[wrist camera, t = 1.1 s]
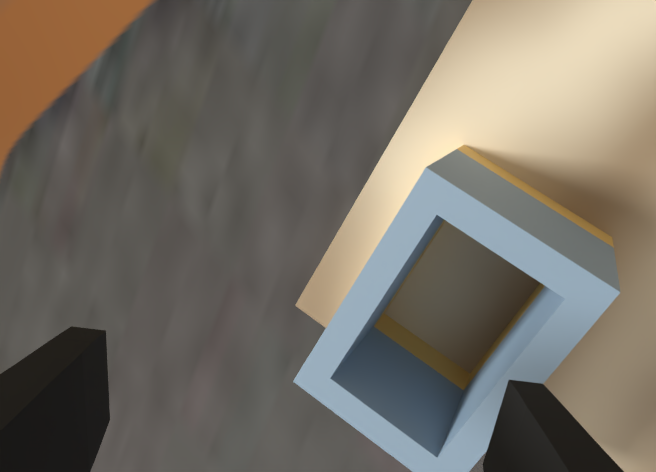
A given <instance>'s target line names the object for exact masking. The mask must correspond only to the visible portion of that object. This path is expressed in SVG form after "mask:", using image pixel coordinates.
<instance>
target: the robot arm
mask: <svg viewBox="0 0 656 472" xmlns="http://www.w3.org/2000/svg"><path fill="white" fill-rule="evenodd" d="M109 421H110V413H109V391H108V369H107V348H106V331H104V330H96V329H88V328H79V327H70V328H68V329H67V330H65V331H64V332H62V333H61V334H59V335H58V336H56V337H55V338H53V339H52V340H50V341H49V342H47V343H46V344H44V345H43V346H41V347H40V348H38V349H37V350H36V351H34V352H33V353H31V354H30V355H28V356H27V357H25V358H24V359H22V360H21V361H19V362H18V363H17V364H15V365H14V366H12V367H11V368H9V369H8V370H6V371H5V372H3V373H1V374H0V472H90V471H91V468H92V466H93V463H94V461H95V458H96V455H97V453H98V450H99V448H100V445H101V442H102V440H103V437H104V434H105V431H106V429H107V426H108V423H109ZM483 470H484V472H624V471H623V470H622V469H621V468H620V467H619V466H618V465H617V464H616V463H615V462H614V460H613V459H612V458H611V457H610V456H609V455H608V454H607V453H606V452H605V451H604V450H603V449H602V448H601V447H600V445H599V444H598V443H597V442H596V441H595V440H594V439H593V438H592V437H591V436H590V435H589V433H588V432H587V431H586V430H585V429H584V428H583V427H582V426H581V425H580V423H579V422H578V421H577V420H576V419H575V418H574V417H573V416H572V415H571V414H570V412H569V411H568V410H567V409H566V408H565V407H564V406H563V405H562V404H561V402H560V401H559V400H558V399H557V398H556V397H555V396H554V395H553V394H552V393H551V392H550V391H549V390H548V389H547V388H546V386H545V385H544V384H541V383H533V382H525V381H517V380H509V381H508V384H507V387H506V390H505V394H504V397H503V400H502V403H501V407H500V410H499V413H498V416H497V420H496V423H495V426H494V429H493V433H492V436H491V439H490V443H489V446H488V449H487V452H486V456H485V459H484V462H483Z"/></svg>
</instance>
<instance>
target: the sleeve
mask: <svg viewBox="0 0 656 472" xmlns="http://www.w3.org/2000/svg"><path fill="white" fill-rule="evenodd" d="M445 221H447V222H449V223H450V224H452V225H453V226H455V227H456V228H458V229H459V230H461V231H462V232H464V233H466V234H467V235H469V236H470V237H472V238H473V239H475V240H476V241H478V242H479V243H481V244H482V245H484V246H485V247H487V248H488V249H490V250H491V251H493V252H494V253H496V254H497V255H499V256H501V257H502V258H504V259H505V260H507V261H508V262H510V263H511V264H513V265H514V266H516V267H517V268H519V269H520V270H522V271H523V272H525V273H526V274H528V275H529V276H531V277H532V278H534V279H536V280H537V281H539V282H540V284H539V285H538V286H537V288H536V289H535V290H534V292H533V293H532V294H531V295H530V297H529V298H528V299H527V301H526V302H525V303H524V305H523V306H522V307H521V308H520V310H519V311H518V312H517V314H516V315H515V316H514V317H513V319H512V320H511V321H510V323H509V324H508V325H507V327H506V328H505V329H504V330H503V332H502V333H501V334H500V336H499V337H498V338H497V339H496V341H495V342H494V343H493V345H492V346H491V347H490V348H489V350H488V351H487V352H486V354H485V355H484V356H483V358H482V359H481V360H480V361H479V363H478V364H477V365H476V367H475V368H474V369H473V370H472V372H471V373H468V372H467V371H465V370H464V369H463V368H461V367H460V366H458V365H457V364H455V363H454V362H453V361H451V360H450V359H448V358H447V357H446V356H444V355H443V354H441V353H440V352H438V351H437V350H436V349H434V348H433V347H431V346H430V345H429V344H427V343H426V342H424V341H423V340H421V339H420V338H419V337H417V336H416V335H414V334H413V333H412V332H410V331H409V330H407V329H406V328H404V327H403V326H402V325H400V324H399V323H397V322H396V321H395V320H393V319H392V318H390V317H389V316H387V315H386V314H385V312H386V310H387V309H388V307H389V306H390V304H391V303H392V301H393V300H394V298H395V297H396V295H397V294H398V292H399V291H400V289H401V288H402V286H403V285H404V283H405V282H406V280H407V279H408V277H409V276H410V274H411V273H412V271H413V270H414V268H415V267H416V265H417V264H418V262H419V261H420V259H421V258H422V256H423V255H424V253H425V251H426V250H427V248H428V247H429V245H430V244H431V242H432V241H433V239H434V238H435V236H436V235H437V233H438V232H439V230H440V229H441V227H442V226H443V224H444V223H445ZM619 294H620V285H619V279H618V272H617V265H616V259H615V252H614V246H613V239H612V237H611V236H609V235H608V234H606V233H605V232H603V231H601V230H600V229H598V228H597V227H595V226H593V225H592V224H590V223H589V222H587V221H585V220H584V219H582V218H581V217H579V216H578V215H576V214H574V213H573V212H571V211H570V210H568V209H566V208H565V207H563V206H562V205H560V204H558V203H557V202H555V201H554V200H552V199H550V198H549V197H547V196H546V195H544V194H542V193H541V192H539V191H538V190H536V189H534V188H533V187H531V186H530V185H528V184H526V183H525V182H523V181H522V180H520V179H518V178H517V177H515V176H514V175H512V174H510V173H509V172H507V171H506V170H504V169H502V168H501V167H499V166H498V165H496V164H494V163H493V162H491V161H490V160H488V159H486V158H485V157H483V156H482V155H480V154H478V153H477V152H475V151H474V150H472V149H470V148H469V147H467V146H466V145H462V146H461V147H459V148H457V149H456V150H454V151H452V152H451V153H449V154H447V155H446V156H444V157H442V158H441V159H439V160H437V161H436V162H434V163H432V164H430V165H429V166H427V167H426V168H425V169H424V171H423V173H422V174H421V176H420V178H419V179H418V181H417V182H416V184H415V186H414V187H413V189H412V190H411V192H410V194H409V195H408V197H407V198H406V200H405V202H404V203H403V205H402V207H401V208H400V210H399V211H398V213H397V215H396V216H395V218H394V219H393V221H392V223H391V224H390V226H389V228H388V229H387V231H386V232H385V234H384V236H383V237H382V239H381V240H380V242H379V244H378V245H377V247H376V249H375V250H374V252H373V253H372V255H371V257H370V258H369V260H368V261H367V263H366V265H365V266H364V268H363V270H362V271H361V273H360V274H359V276H358V278H357V279H356V281H355V282H354V284H353V286H352V287H351V289H350V291H349V292H348V294H347V295H346V297H345V299H344V300H343V302H342V303H341V305H340V307H339V308H338V310H337V311H336V313H335V315H334V316H333V318H332V320H331V321H330V323H329V324H328V326H327V328H326V329H325V331H324V332H323V334H322V336H321V337H320V339H319V341H318V342H317V344H316V345H315V347H314V349H313V350H312V352H311V353H310V355H309V357H308V358H307V360H306V362H305V363H304V365H303V366H302V368H301V370H300V371H299V373H298V374H297V376H296V378H295V379H294V381H293V382H295V383H296V384H297V385H299V386H300V387H301V388H303V389H304V390H305V391H307V392H308V393H309V394H311V395H312V396H313V397H315V398H316V399H317V400H319V401H320V402H321V403H322V404H324V405H325V406H326V407H328V408H329V409H330V410H332V411H333V412H334V413H336V414H337V415H338V416H340V417H341V418H342V419H344V420H345V421H346V422H348V423H349V424H350V425H352V426H353V427H354V428H356V429H357V430H358V431H360V432H361V433H362V434H364V435H365V436H366V437H368V438H369V439H370V440H372V441H373V442H374V443H375V444H377V445H378V446H379V447H381V448H382V449H383V450H385V451H386V452H387V453H389V454H390V455H391V456H393V457H394V458H395V459H397V460H398V461H399V462H401V463H402V464H403V465H405V466H406V467H407V468H409V469H410V470H411V471H413V472H469V471H470V470H471V469H472V467H473V466H474V465H475V464H476V463H477V461H478V460H479V459H480V458H481V457H482V456H483V454H484V453H485V452H486V451H487V449H488V446H489V443H490V439H491V436H492V433H493V429H494V426H495V423H496V420H497V416H498V413H499V410H500V407H501V403H502V400H503V397H504V394H505V390H506V387H507V384H508V381H509V380H517V381H525V382H533V383H541V384H543V383H544V382H545V381H546V380H547V379H548V378H549V376H550V375H551V374H552V373H553V372H554V370H555V369H556V368H557V367H558V366H559V365H560V363H561V362H562V361H563V360H564V359H565V357H566V356H567V355H568V354H569V353H570V352H571V350H572V349H573V348H574V347H575V346H576V344H577V343H578V342H579V341H580V340H581V339H582V337H583V336H584V335H585V334H586V333H587V331H588V330H589V329H590V328H591V327H592V326H593V324H594V323H595V322H596V321H597V320H598V318H599V317H600V316H601V315H602V314H603V313H604V311H605V310H606V309H607V308H608V307H609V305H610V304H611V303H612V302H613V301H614V300H615V298H616V297H617V296H618V295H619Z"/></svg>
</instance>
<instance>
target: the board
mask: <svg viewBox="0 0 656 472" xmlns="http://www.w3.org/2000/svg"><path fill="white" fill-rule="evenodd" d="M462 145H466V146H467V147H469V148H470V149H472V150H474V151H475V152H477V153H478V154H480V155H482V156H483V157H485V158H486V159H488V160H490V161H491V162H493V163H494V164H496V165H498V166H499V167H501V168H502V169H504V170H506V171H507V172H509V173H510V174H512V175H514V176H515V177H517V178H518V179H520V180H522V181H523V182H525V183H526V184H528V185H530V186H531V187H533V188H534V189H536V190H538V191H539V192H541V193H542V194H544V195H546V196H547V197H549V198H550V199H552V200H554V201H555V202H557V203H558V204H560V205H562V206H563V207H565V208H566V209H568V210H570V211H571V212H573V213H574V214H576V215H578V216H579V217H581V218H582V219H584V220H585V221H587V222H589V223H590V224H592V225H593V226H595V227H597V228H598V229H600V230H601V231H603V232H605V233H606V234H608V235H609V236H611V237H612V239H613V246H614V252H615V259H616V265H617V272H618V279H619V285H620V294H619V295H618V296H617V297H616V298H615V300H614V301H613V302H612V303H611V304H610V305H609V307H608V308H607V309H606V310H605V311H604V313H603V314H602V315H601V316H600V317H599V318H598V320H597V321H596V322H595V323H594V324H593V326H592V327H591V328H590V329H589V330H588V331H587V333H586V334H585V335H584V336H583V337H582V339H581V340H580V341H579V342H578V343H577V344H576V346H575V347H574V348H573V349H572V350H571V352H570V353H569V354H568V355H567V356H566V357H565V359H564V360H563V361H562V362H561V363H560V365H559V366H558V367H557V368H556V369H555V370H554V372H553V373H552V374H551V375H550V376H549V378H548V379H547V380H546V381H545V382H544V383H543V384H544V385H545V386H546V388H547V389H548V390H549V391H550V392H551V393H552V394H553V395H554V396H555V397H556V398H557V399H558V400H559V401H560V402H561V404H562V405H563V406H564V407H565V408H566V409H567V410H568V411H569V412H570V414H571V415H572V416H573V417H574V418H575V419H576V420H577V421H578V422H579V423H580V425H581V426H582V427H583V428H584V429H585V430H586V431H587V432H588V433H589V435H590V436H591V437H592V438H593V439H594V440H595V441H596V442H597V443H598V444H599V445H600V447H601V448H602V449H603V450H604V451H605V452H606V453H607V454H608V455H609V456H610V457H611V458H612V459H613V460H614V462H615V463H616V464H617V465H618V466H619V467H620V468H621V469H622V470H623V471H624V472H656V0H473V1H472V2H471V4H470V6H469V8H468V9H467V11H466V13H465V14H464V16H463V18H462V20H461V21H460V23H459V25H458V26H457V28H456V30H455V32H454V33H453V35H452V37H451V38H450V40H449V42H448V44H447V45H446V47H445V49H444V51H443V52H442V54H441V56H440V57H439V59H438V61H437V63H436V64H435V66H434V68H433V69H432V71H431V73H430V75H429V76H428V78H427V80H426V81H425V83H424V85H423V87H422V88H421V90H420V92H419V93H418V95H417V97H416V99H415V100H414V102H413V104H412V106H411V107H410V109H409V111H408V112H407V114H406V116H405V118H404V119H403V121H402V123H401V124H400V126H399V128H398V130H397V131H396V133H395V135H394V136H393V138H392V140H391V142H390V143H389V145H388V147H387V149H386V150H385V152H384V154H383V155H382V157H381V159H380V161H379V162H378V164H377V166H376V167H375V169H374V171H373V173H372V174H371V176H370V178H369V179H368V181H367V183H366V185H365V186H364V188H363V190H362V192H361V193H360V195H359V197H358V198H357V200H356V202H355V204H354V205H353V207H352V209H351V210H350V212H349V214H348V216H347V217H346V219H345V221H344V222H343V224H342V226H341V228H340V229H339V231H338V233H337V234H336V236H335V238H334V240H333V241H332V243H331V245H330V247H329V248H328V250H327V252H326V253H325V255H324V257H323V259H322V260H321V262H320V264H319V265H318V267H317V269H316V271H315V272H314V274H313V276H312V277H311V279H310V281H309V283H308V284H307V286H306V288H305V290H304V291H303V293H302V295H301V296H300V298H299V300H298V302H297V303H296V305H295V306H297V307H298V308H299V309H301V310H302V311H303V312H305V313H306V314H308V315H309V316H310V317H312V318H313V319H315V320H316V321H317V322H319V323H320V324H321V325H323V326H324V327H326V328H327V326H328V324H329V323H330V321H331V320H332V318H333V316H334V315H335V313H336V311H337V310H338V308H339V307H340V305H341V303H342V302H343V300H344V299H345V297H346V295H347V294H348V292H349V291H350V289H351V287H352V286H353V284H354V282H355V281H356V279H357V278H358V276H359V274H360V273H361V271H362V270H363V268H364V266H365V265H366V263H367V261H368V260H369V258H370V257H371V255H372V253H373V252H374V250H375V249H376V247H377V245H378V244H379V242H380V240H381V239H382V237H383V236H384V234H385V232H386V231H387V229H388V228H389V226H390V224H391V223H392V221H393V219H394V218H395V216H396V215H397V213H398V211H399V210H400V208H401V207H402V205H403V203H404V202H405V200H406V198H407V197H408V195H409V194H410V192H411V190H412V189H413V187H414V186H415V184H416V182H417V181H418V179H419V178H420V176H421V174H422V173H423V171H424V169H425V168H426V167H427V166H429V165H430V164H432V163H434V162H436V161H437V160H439V159H441V158H442V157H444V156H446V155H447V154H449V153H451V152H452V151H454V150H456V149H457V148H459V147H461V146H462ZM539 284H540V282H539V281H537V280H536V279H534V278H532V277H531V276H529V275H528V274H526V273H525V272H523V271H522V270H520V269H519V268H517V267H516V266H514V265H513V264H511V263H510V262H508V261H507V260H505V259H504V258H502V257H501V256H499V255H497V254H496V253H494V252H493V251H491V250H490V249H488V248H487V247H485V246H484V245H482V244H481V243H479V242H478V241H476V240H475V239H473V238H472V237H470V236H469V235H467V234H466V233H464V232H462V231H461V230H459V229H458V228H456V227H455V226H453V225H452V224H450V223H449V222H447V221H445V223H444V224H443V226H442V227H441V229H440V230H439V232H438V233H437V235H436V236H435V238H434V239H433V241H432V242H431V244H430V245H429V247H428V248H427V250H426V251H425V253H424V255H423V256H422V258H421V259H420V261H419V262H418V264H417V265H416V267H415V268H414V270H413V271H412V273H411V274H410V276H409V277H408V279H407V280H406V282H405V283H404V285H403V286H402V288H401V289H400V291H399V292H398V294H397V295H396V297H395V298H394V300H393V301H392V303H391V304H390V306H389V307H388V309H387V310H386V312H385V314H386V315H387V316H389V317H390V318H392V319H393V320H395V321H396V322H397V323H399V324H400V325H402V326H403V327H404V328H406V329H407V330H409V331H410V332H412V333H413V334H414V335H416V336H417V337H419V338H420V339H421V340H423V341H424V342H426V343H427V344H429V345H430V346H431V347H433V348H434V349H436V350H437V351H438V352H440V353H441V354H443V355H444V356H446V357H447V358H448V359H450V360H451V361H453V362H454V363H455V364H457V365H458V366H460V367H461V368H463V369H464V370H465V371H467V372H468V373H471V372H472V370H473V369H474V368H475V367H476V365H477V364H478V363H479V361H480V360H481V359H482V358H483V356H484V355H485V354H486V352H487V351H488V350H489V348H490V347H491V346H492V345H493V343H494V342H495V341H496V339H497V338H498V337H499V336H500V334H501V333H502V332H503V330H504V329H505V328H506V327H507V325H508V324H509V323H510V321H511V320H512V319H513V317H514V316H515V315H516V314H517V312H518V311H519V310H520V308H521V307H522V306H523V305H524V303H525V302H526V301H527V299H528V298H529V297H530V295H531V294H532V293H533V292H534V290H535V289H536V288H537V286H538V285H539Z"/></svg>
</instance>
